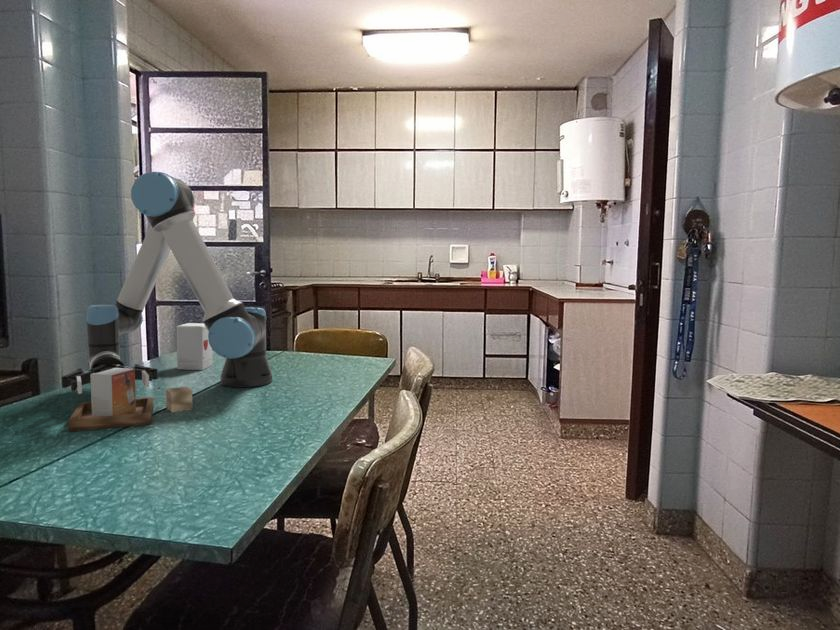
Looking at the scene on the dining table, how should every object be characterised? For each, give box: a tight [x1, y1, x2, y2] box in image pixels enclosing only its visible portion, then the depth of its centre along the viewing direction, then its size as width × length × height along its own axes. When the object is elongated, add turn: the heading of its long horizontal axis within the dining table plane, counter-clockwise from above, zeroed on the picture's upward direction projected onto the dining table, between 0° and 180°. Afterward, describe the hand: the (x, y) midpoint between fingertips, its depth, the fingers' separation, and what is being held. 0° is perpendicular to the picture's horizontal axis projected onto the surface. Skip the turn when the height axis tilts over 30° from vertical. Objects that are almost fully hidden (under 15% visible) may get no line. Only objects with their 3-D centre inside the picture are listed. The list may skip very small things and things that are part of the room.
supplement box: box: [176, 322, 213, 371], centre depth 189 cm, size 9×9×15 cm
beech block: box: [165, 386, 193, 413], centre depth 139 cm, size 5×5×5 cm
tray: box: [67, 396, 155, 433], centre depth 130 cm, size 16×16×2 cm
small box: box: [90, 368, 137, 417], centre depth 129 cm, size 8×6×10 cm
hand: (114, 384), depth 126 cm, fingers open, 13 cm apart
